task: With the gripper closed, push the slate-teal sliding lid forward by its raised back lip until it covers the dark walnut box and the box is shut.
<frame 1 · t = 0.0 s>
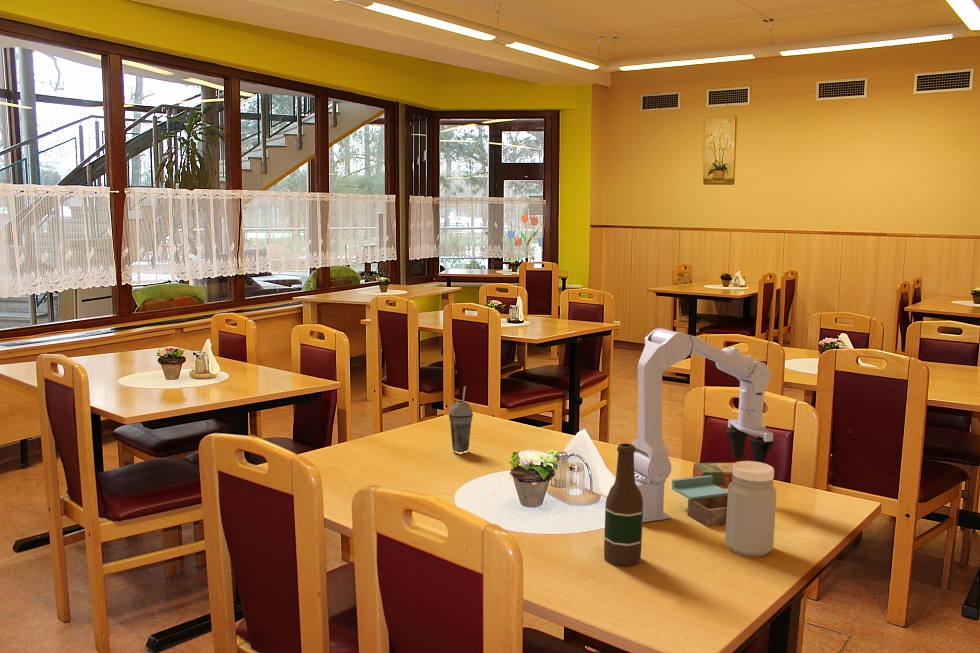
hand: (748, 462, 194), 10 cm above the table, tool pointing down, fingers open, 7 cm apart
box: (717, 518, 184), on the table
carton: (726, 482, 212), on the table
beverage cup: (460, 452, 235), on the table
beer bottle: (622, 560, 161), on the table
lid: (700, 487, 190), point 5 cm above the table, slide at 7.0 cm
jar: (748, 549, 167), on the table
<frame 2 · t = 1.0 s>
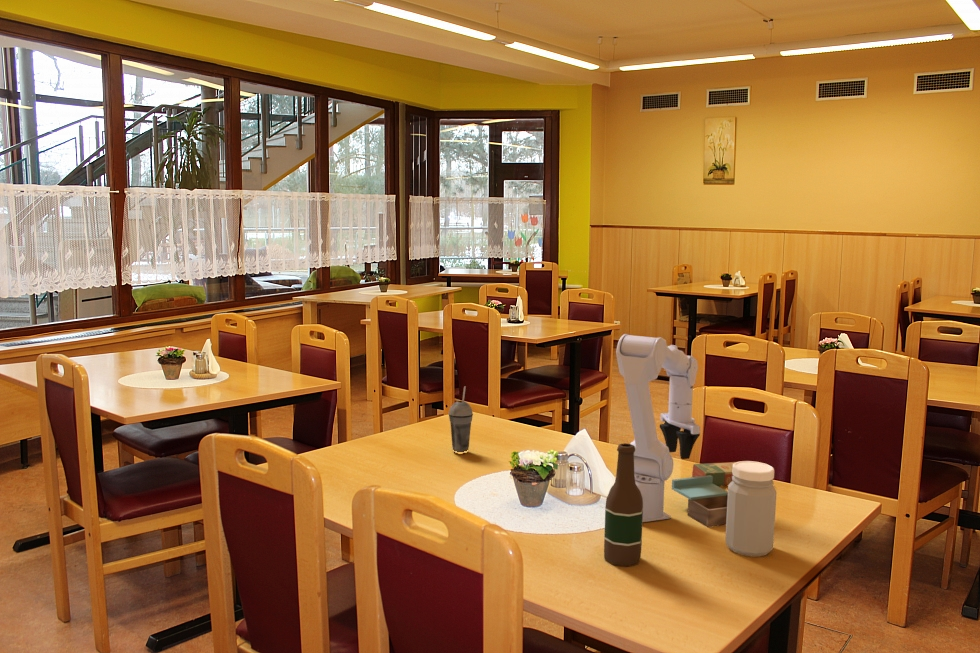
hand: (678, 455, 198), 10 cm above the table, tool pointing down, fingers open, 5 cm apart
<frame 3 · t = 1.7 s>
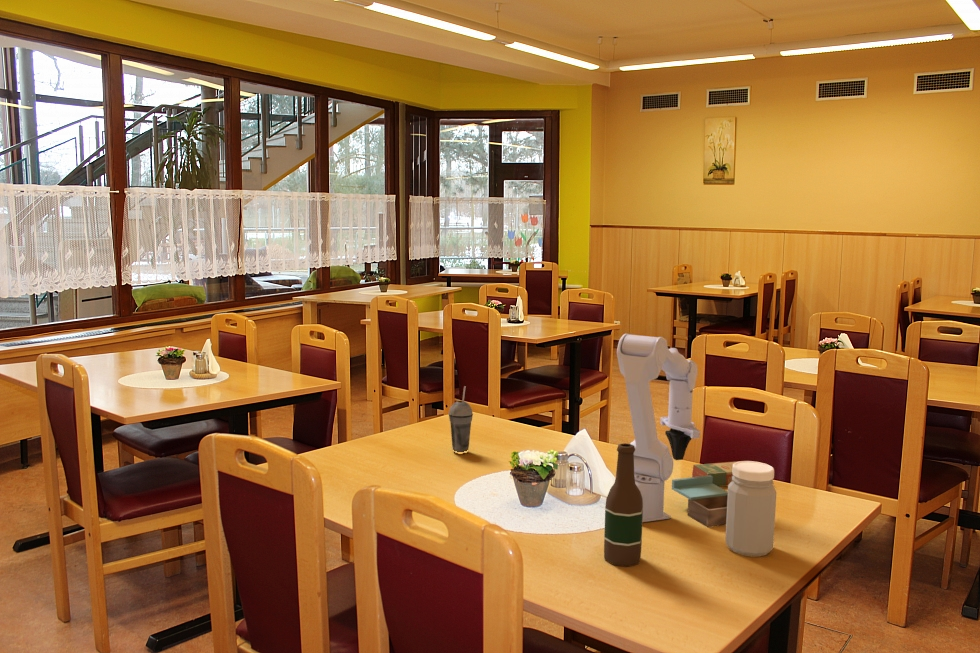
hand: (678, 459, 198), 9 cm above the table, tool pointing down, fingers closed
nothing on the table moved.
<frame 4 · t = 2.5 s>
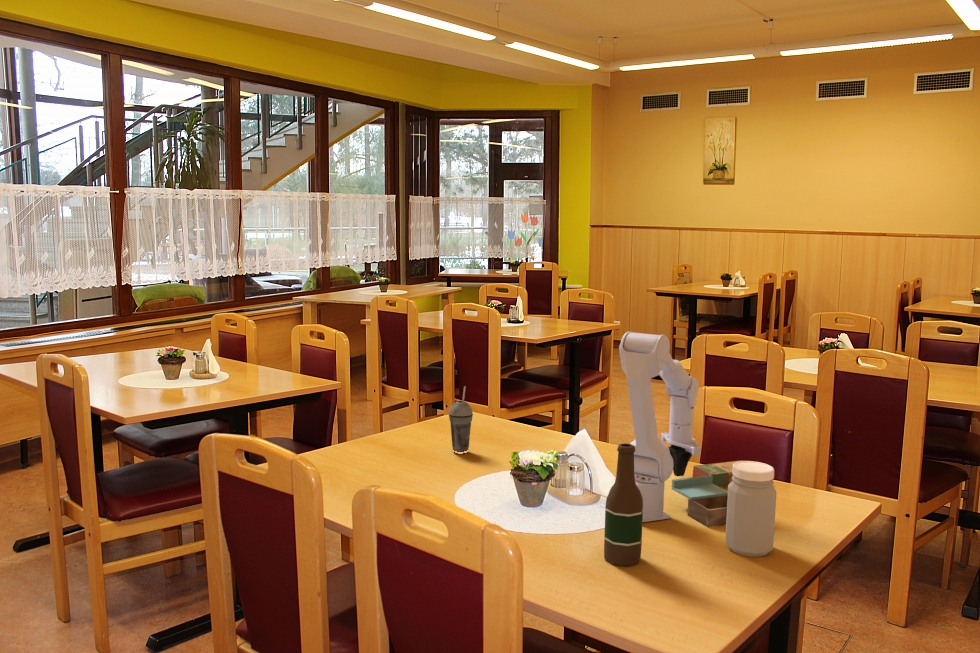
hand: (678, 475, 198), 5 cm above the table, tool pointing down, fingers closed
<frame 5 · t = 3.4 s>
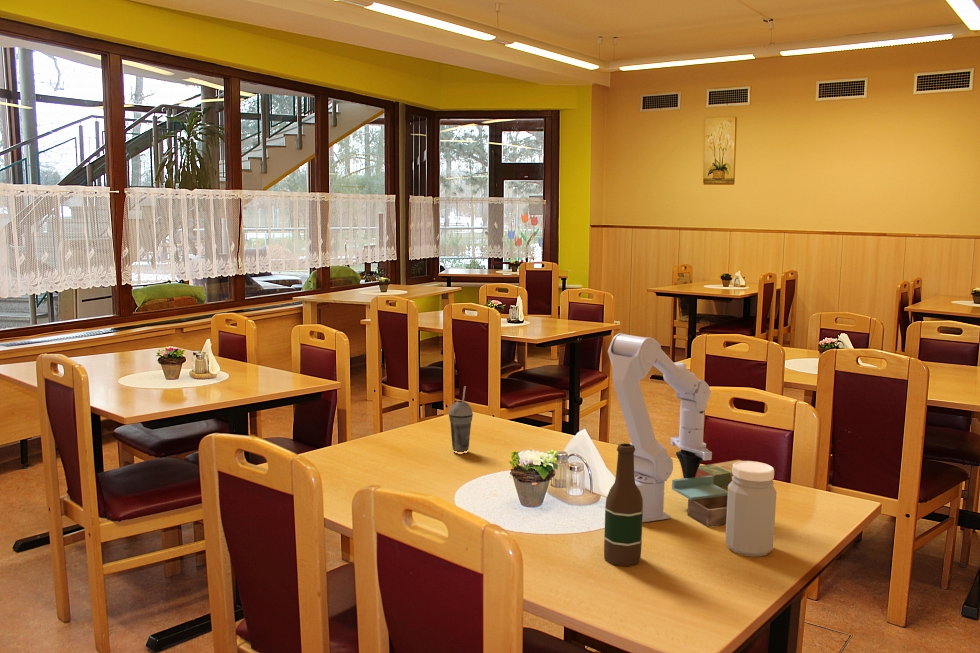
hand: (689, 480, 194), 5 cm above the table, tool pointing down, fingers closed
lid: (701, 487, 190), point 5 cm above the table, slide at 6.9 cm, touching gripper
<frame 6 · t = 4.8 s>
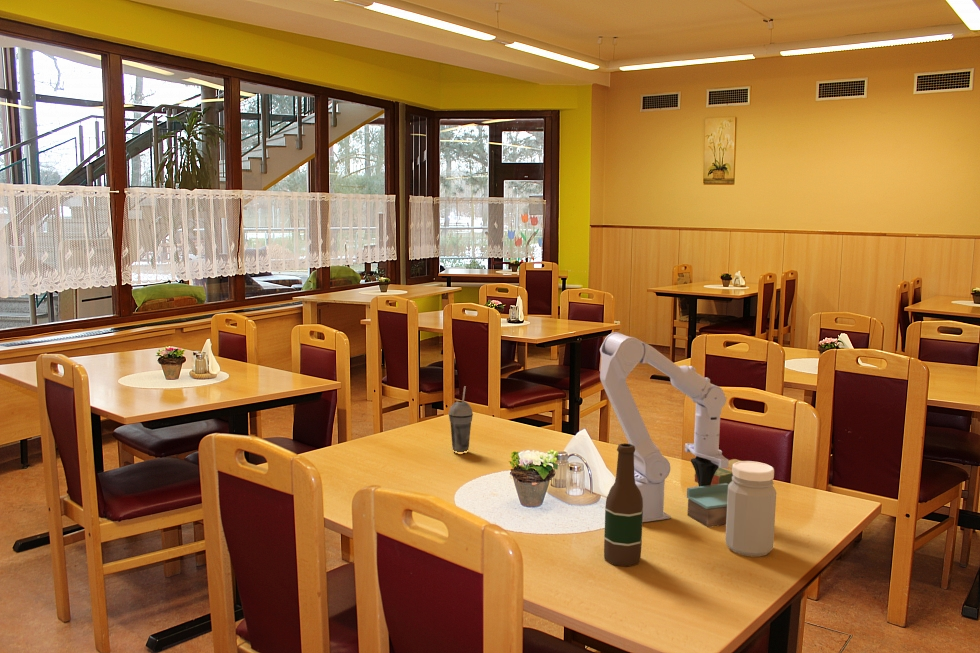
hand: (704, 488, 188), 5 cm above the table, tool pointing down, fingers closed
lid: (716, 495, 184), point 5 cm above the table, slide at 0.6 cm, touching gripper
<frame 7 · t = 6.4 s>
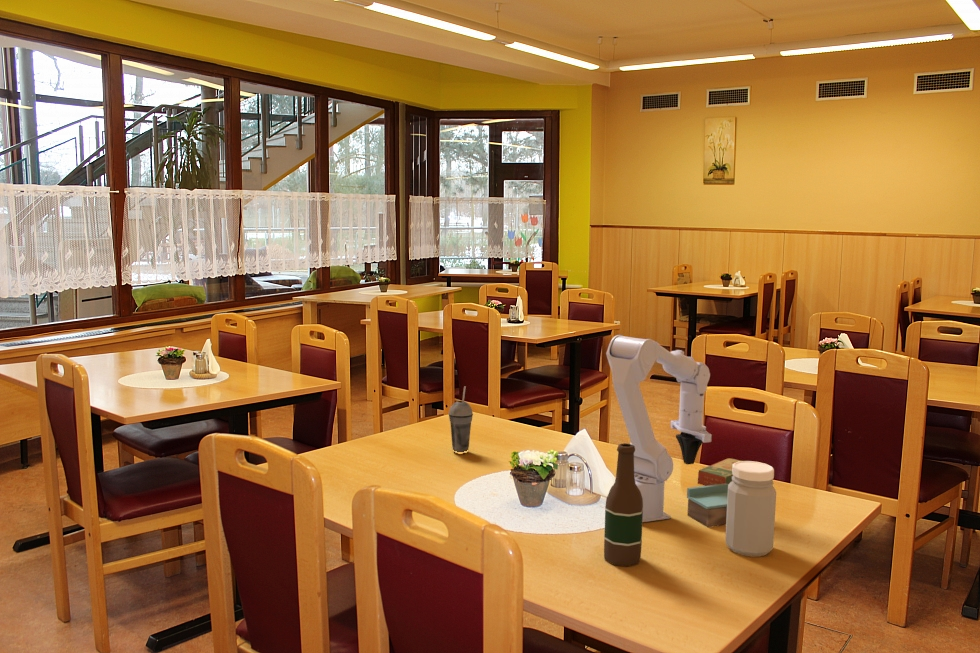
hand: (688, 463, 195), 9 cm above the table, tool pointing down, fingers closed
lid: (717, 495, 184), point 5 cm above the table, slide at 0.6 cm
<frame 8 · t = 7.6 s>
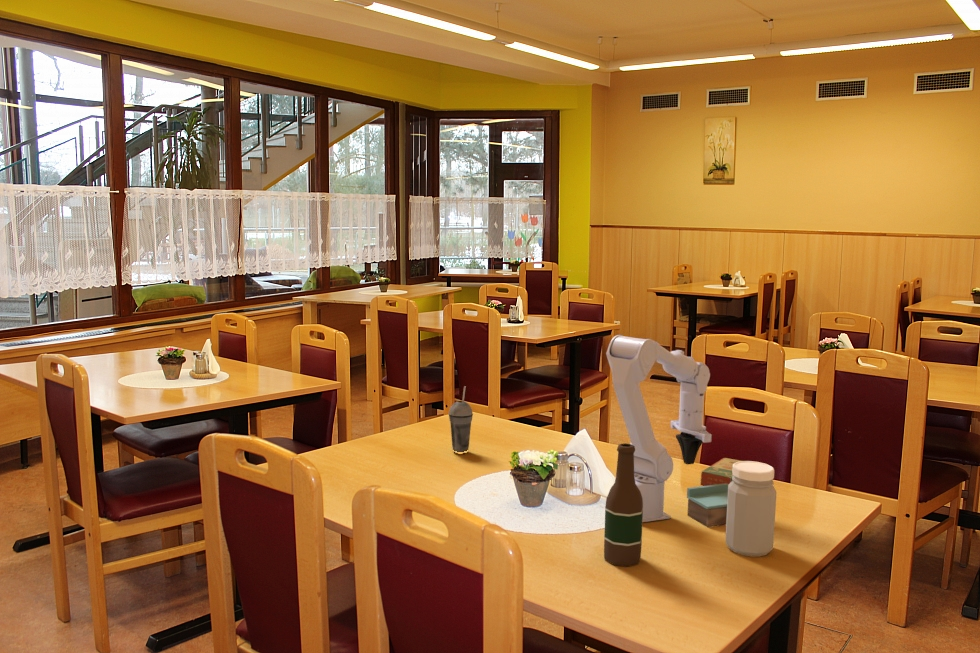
hand: (688, 463, 195), 9 cm above the table, tool pointing down, fingers closed
at the end: lid slide at 0.6 cm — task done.
